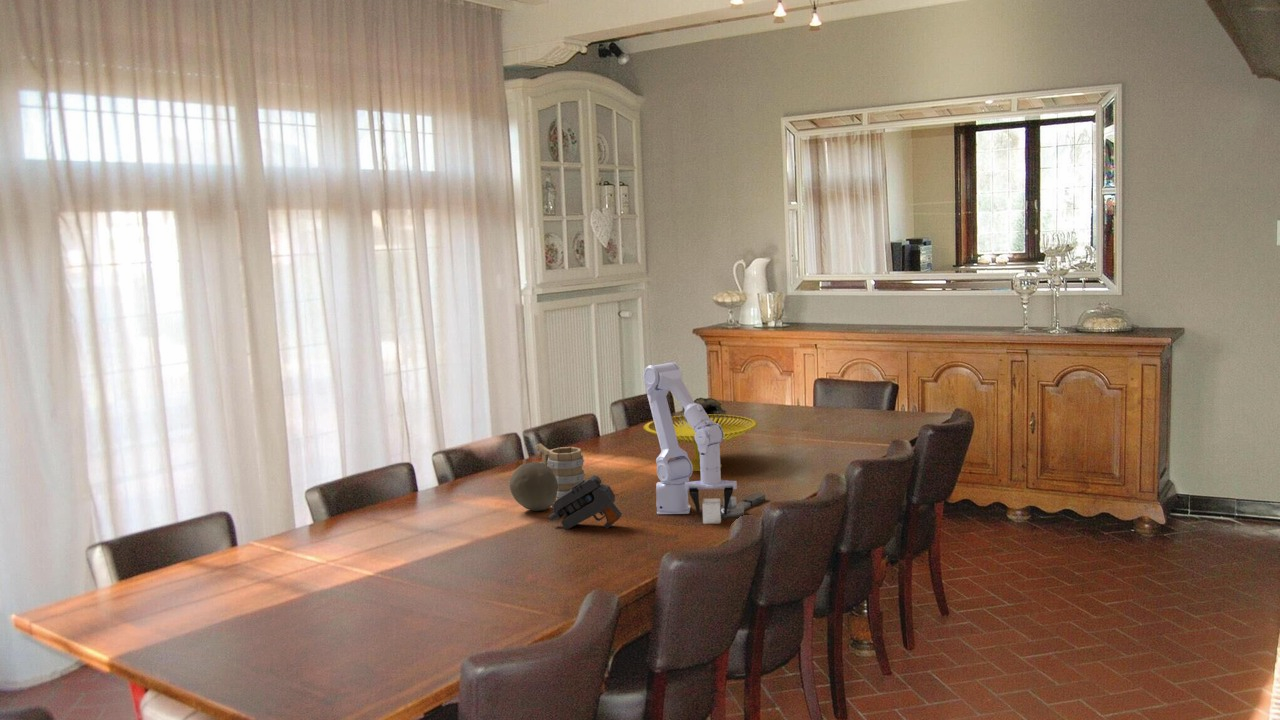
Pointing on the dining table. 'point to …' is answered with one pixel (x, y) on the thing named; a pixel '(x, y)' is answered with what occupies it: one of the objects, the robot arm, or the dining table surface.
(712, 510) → the white boxy piece
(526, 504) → the cantaloupe
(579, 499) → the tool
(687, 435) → the cake stand
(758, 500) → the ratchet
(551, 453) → the tankard
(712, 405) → the dark rounded lump
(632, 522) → the dining table surface
